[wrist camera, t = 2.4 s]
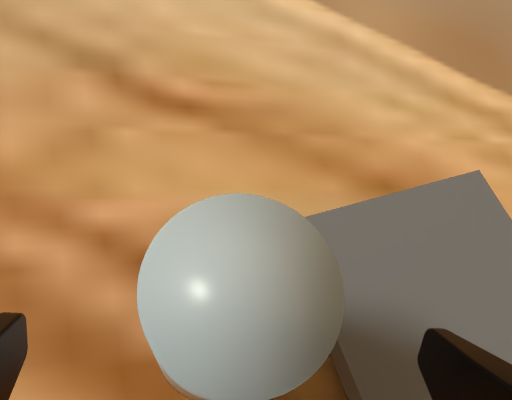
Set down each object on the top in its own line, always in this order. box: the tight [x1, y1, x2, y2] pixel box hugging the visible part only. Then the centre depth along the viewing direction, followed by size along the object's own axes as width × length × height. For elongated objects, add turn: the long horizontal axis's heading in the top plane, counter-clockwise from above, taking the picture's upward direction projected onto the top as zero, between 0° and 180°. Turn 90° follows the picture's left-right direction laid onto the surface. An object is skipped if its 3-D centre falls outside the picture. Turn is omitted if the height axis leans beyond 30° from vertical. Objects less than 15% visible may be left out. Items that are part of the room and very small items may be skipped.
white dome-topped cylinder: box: [137, 193, 344, 400], centre depth 13 cm, size 4×4×10 cm
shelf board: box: [305, 170, 512, 400], centre depth 19 cm, size 14×12×2 cm
